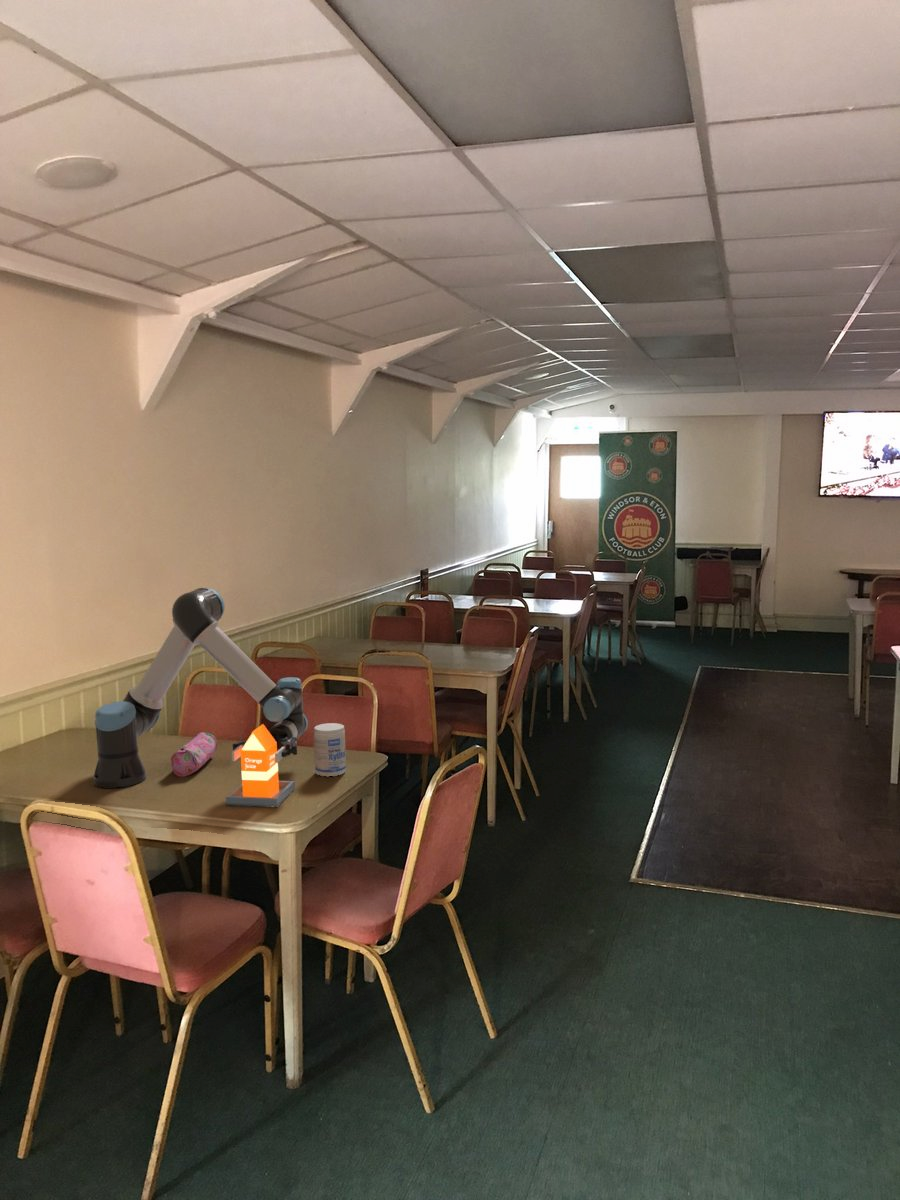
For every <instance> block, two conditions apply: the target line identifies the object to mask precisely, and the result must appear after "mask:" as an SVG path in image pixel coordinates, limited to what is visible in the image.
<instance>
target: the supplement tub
mask: <svg viewBox="0 0 900 1200" xmlns="http://www.w3.org/2000/svg"><path fill="white" fill-rule="evenodd" d="M313 731H314V732H313V743H314V744H313V745H314V746H313V747H314V748H313V749H314V772H315V774H316V775H317V776H319V775H320V776H321V777H324V776H326V777H327V778H330V777H329V776H333V777H338V775H339V776H341V775H343V774H344V773H345V772H346V770H347V764H346V763H347V761H346V755H347V753H346V730H345V725H343V724H342V723H335V722H333V723H332V722H331V723H330V722H327V723H321V724H317V725H316V726H314V729H313Z"/></svg>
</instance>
